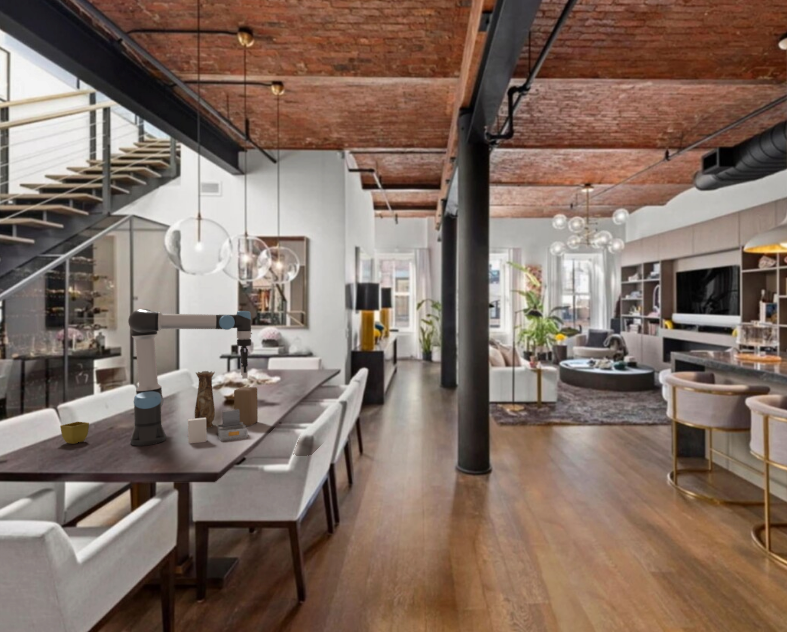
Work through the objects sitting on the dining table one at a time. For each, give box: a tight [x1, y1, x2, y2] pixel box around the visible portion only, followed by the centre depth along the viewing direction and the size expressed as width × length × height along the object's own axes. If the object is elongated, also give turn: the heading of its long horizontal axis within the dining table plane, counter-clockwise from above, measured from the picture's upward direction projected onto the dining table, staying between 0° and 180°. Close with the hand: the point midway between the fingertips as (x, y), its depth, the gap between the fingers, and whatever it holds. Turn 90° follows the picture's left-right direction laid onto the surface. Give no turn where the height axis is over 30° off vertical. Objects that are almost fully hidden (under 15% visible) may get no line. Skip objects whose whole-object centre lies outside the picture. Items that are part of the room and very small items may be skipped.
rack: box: [217, 409, 249, 442], centre depth 233 cm, size 13×16×12 cm
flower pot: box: [59, 421, 90, 445], centre depth 223 cm, size 9×9×9 cm
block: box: [233, 386, 259, 427], centre depth 256 cm, size 10×10×20 cm
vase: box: [194, 370, 216, 429], centre depth 251 cm, size 10×11×30 cm
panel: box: [187, 418, 208, 444], centre depth 223 cm, size 8×4×11 cm, turn 116°
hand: (244, 376), depth 254 cm, fingers open, 13 cm apart
